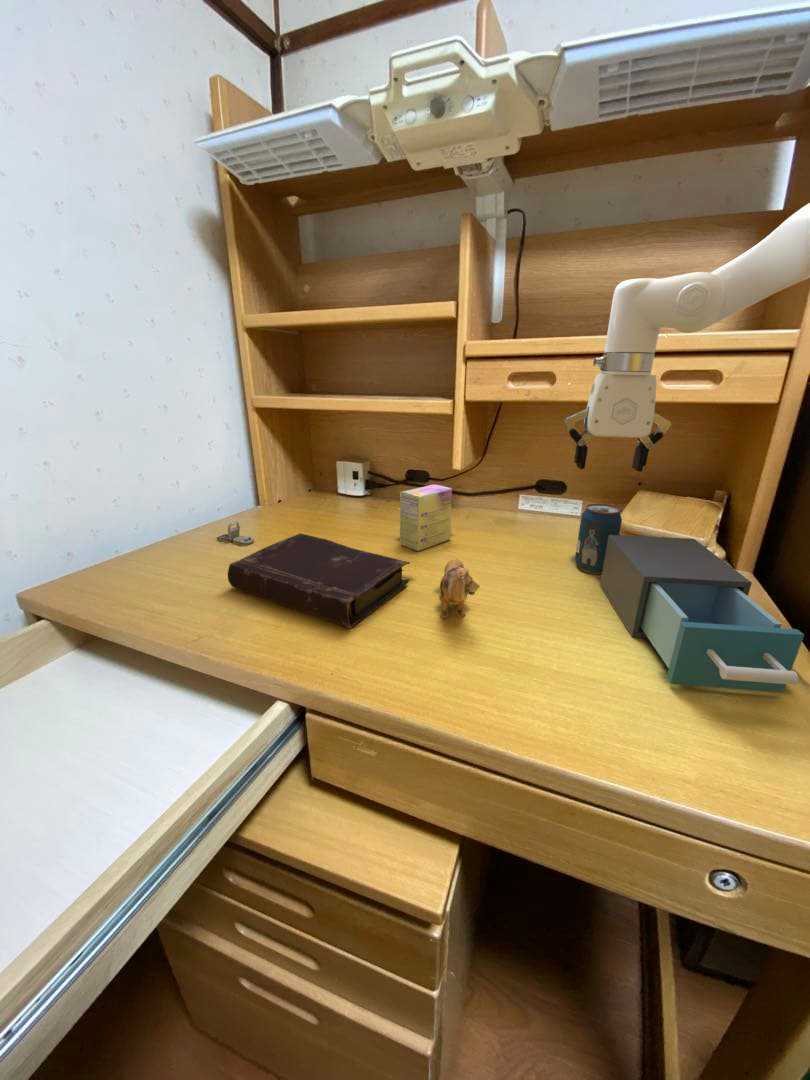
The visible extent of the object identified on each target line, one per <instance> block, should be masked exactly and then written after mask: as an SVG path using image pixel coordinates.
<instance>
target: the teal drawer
mask: <svg viewBox="0 0 810 1080" xmlns="http://www.w3.org/2000/svg"><path fill="white" fill-rule="evenodd" d="M782 626H783V624H782V622H780V620H778V619H777V618H775V617H774V616H773V615H772V614H771V613H769V612H768V611H767V610H766V609H764V608H763V607H762V606H760V605H759V604H758V603H757V602H756V601H754V600H753V599H752V598H750V596H749V595H748V596H747V595H746V594H744V593H743V592H742V591H741V590H739V589H738V588H737V587H732V586H715V585H697V584H680V583H663V582H649V586H648V590H647V595H646V599H645V604H644V608H643V613H642V617H641V622H640V627H641V628H642V630H643V631H644V633H645V634H646V636H647V637H648V638H647V639H648V641H649V642H650V644H651V645H652V646H653V648H654V649H655V650H656V652H657V653H658V655H659V656H660V658H661V660H662V661H663V662H664V665H666V667H667V669H668V671H667V675H666V678H667V680H668V681H669V683H670V684H673V685H685V686H696V687H697V686H698V687H710V688H711V687H712V688H721V689H735V690H747V691H761V692H773V693H784V692H785V689H786V686H787V685H793V686H795V685H798V683H799V679H800V678H799V675H798V673H797V672H796V671H794V670H793V667H794V665H795V661H796V659H797V656H798V654H799V650H800V648H801V646H802V643H803V640H804V637H805V634H804V633H803V632H801V631H800V630H799V629H798V628H783V627H782Z"/></svg>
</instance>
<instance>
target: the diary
mask: <svg viewBox="0 0 810 1080" xmlns="http://www.w3.org/2000/svg"><path fill="white" fill-rule="evenodd" d="M409 564H410V561H406V560H402V559H398V558H393V557H390V556H386V555H381V554H377V553H374V552H369V551H365V550H362V549H358V548H353V547H350V546H347V545H344V544H341V543H338V542H336V541H333V540H329V539H326V538H322V537H317V536H313V535H310V534H305V533H297V534H295V535H293V536H290V537H287V538H285V539H282V540H280V541H277V542H275V543H272V544H270V545H268V546H264V548H261V549H259V550H257V551H255V552H253V553H251V554H249V555H246V556H244V557H242V558H241V559H238V560H235V561H234V562H231V563H230V564H229V565H228V569H227V573H226V574H227V581H228V583H229V584H230V586H231V587H232V588H233V589H237V590H239V591H243V592H247V593H250V594H253V595H257V596H259V597H263V598H265V599H268V600H271V601H273V602H274V603H278V604H280V605H283V606H285V607H289V608H292V609H295V610H298V611H300V612H305V613H308V614H310V615H314V616H317V617H320V618H322V619H325V620H328V621H330V622H332V623H335V624H337V625H340V626H343V627H345V628H348V629H352V627H354V626H355V625H356V624H358V622H360V621H362V620H363V619H364V618H366V617H367V616H368V615H370V614H371V613H372V612H374V611H375V610H376V609H378V608H379V607H380V606H382V605H383V604H384V603H386V602H388V601H389V600H390V599H391V598H392V597H393V596H395V595H396V594H397V593H399V591H401V590H402V589H403V588H404V587H406V585H407V584H408V583H409V582H410V579H409V578H407V579H403V572H404V569H403V567H404V566H406V565H409Z"/></svg>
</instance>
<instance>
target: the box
mask: <svg viewBox="0 0 810 1080" xmlns="http://www.w3.org/2000/svg"><path fill="white" fill-rule="evenodd" d="M452 498H453V488H452V487H448V486H444V485H440V484H435V483H434V484H429V485H424V486H422V487H421V486H420V487H416V488H412V489H407V490H403V491H400V492H399V512H400V513H399V545H400V546H403V547H405V548H408V549H411V550H414V551H417V552H420V551H422V550H425V549H428V548H431V547H433V546H436V545H438V544H442V543H444V542H449V541H450V540H451V526H452V525H451V524H452V523H451V522H452V521H451V520H452V500H453V499H452Z"/></svg>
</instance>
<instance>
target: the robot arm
mask: <svg viewBox="0 0 810 1080" xmlns="http://www.w3.org/2000/svg"><path fill="white" fill-rule="evenodd" d="M807 279H810V202H809V203H807V204H805V205H804V206H803V207H801V208H800V209H799V210H797V211H795V212H794V213H793V214H792V215H790V216H789V217H788V218H787V219H785V220H784V221H783V222H781V224H779V226H777V227H776V228H775V229H774V230H773V231H772V232H771V233H769V234H768V235H767V236H766V237H765V238H763V239H762V240H760V241H759V242H758V243H756V245H754V246H753V247H750V249H748V250H747V251H744V253H742V254H740V255H738V256H737V257H736V258H734V259H732V260H730V261H728V262H727V263H725V264H724V265H721V266H720V267H718V268H717V269H715V270H713V271H711V272H708V271H693V272H688V273H683V274H679V275H673V276H669V277H662V278H654V277H640V278H639V277H638V278H632V279H626V280H623V281H621V282H620V283H619V284H617V285H616V286H615V289H614V291H613V294H612V295H613V296H612V302H611V308H610V313H609V321H608V327H607V333H606V340H605V345H604V351H603V353H602V355H601V356H599V357H594V358H593V366H594V367H598V368H599V370H600V373H597V374H596V376H595V378H594V380H593V384H592V386H591V390H590V394H589V397H588V401H587V405H586V408H585V409H582V410H580V411H578V412H576V413H574V414H573V413H572V414H571V415H569V416H567V417H565V418H564V419H563V423H564V426H565V429H566V431H567V434H568V435H569V437H570V438H571V440H573V441H574V443H575V444H576V446H575V453H574V458H573V459H574V460H573V463H574V464H576V467H577V468H578V469H579V470H584V469H585V468H586V463H587V462H586V461H587V456H588V450H589V447H588V446H587V443H589V441H590V440H591V439H592V438H594V437H603V438H631V439H632V438H633V439H634V438H635V439H636V440H637V442H638V445H637V446H635V449H634V455H633V459H632V464H631V465H632V466H631V468H632V469H634V470H635V471H637V472H640V473H641V472H643V469H644V467H646V465H647V461H648V456H649V451H650V450H651V448H653V447H654V445H655V444H656V443H658V442H659V441H661V440H662V439H663V437H664V435H665V434H666V433H667V431H668V430H669V429H670V428H671V427H672V422H671V421H670V420H668V419H666V418H665V417H663V416H661V415H660V414H658V413H656V412H655V408H656V400H657V399H656V398H657V375H655V374H652V369H653V363H654V359H655V353H656V349H657V344H658V339H659V335H660V329H661V328H667V329H674V330H676V331H678V332H679V333H684V334H692V333H697V332H701V331H703V330H705V329H707V328H709V327H712V326H713V325H716V324H717V323H719V322H721V321H723V320H725V319H727V318H729V317H731V316H733V315H735V314H738V313H739V312H741V311H743V310H745V309H747V308H749V307H751V306H753V305H755V304H757V303H759V302H761V301H763V300H765V299H766V298H769V297H770V296H773V295H774V294H777V293H778V292H780V291H783V290H785V289H787V288H789V287H791V286H794V285H797V284H799V283H801V282H804V281H806V280H807ZM582 420H583V431H582V432H580V433H579V432H578V431H577V428H576V426H575V425H576V423H578V422H580V421H582ZM653 423H654V424H656V425H657V427H656V429H655V431H653V432H652V433H651V431H652V428H653V425H654V424H653Z"/></svg>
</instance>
